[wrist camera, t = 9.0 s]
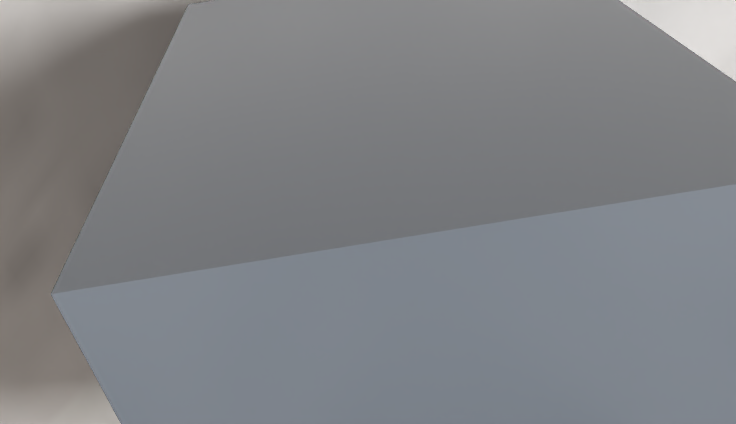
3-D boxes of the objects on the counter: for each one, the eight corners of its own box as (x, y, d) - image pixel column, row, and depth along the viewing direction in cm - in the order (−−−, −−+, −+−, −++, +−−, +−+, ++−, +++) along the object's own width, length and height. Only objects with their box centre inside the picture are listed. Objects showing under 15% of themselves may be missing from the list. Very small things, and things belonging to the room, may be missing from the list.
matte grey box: (543, -53, 13) (855, 164, 6) (534, 355, 20) (675, 695, 12) (188, 4, 13) (50, 294, 6) (299, 393, 20) (301, 756, 12)
